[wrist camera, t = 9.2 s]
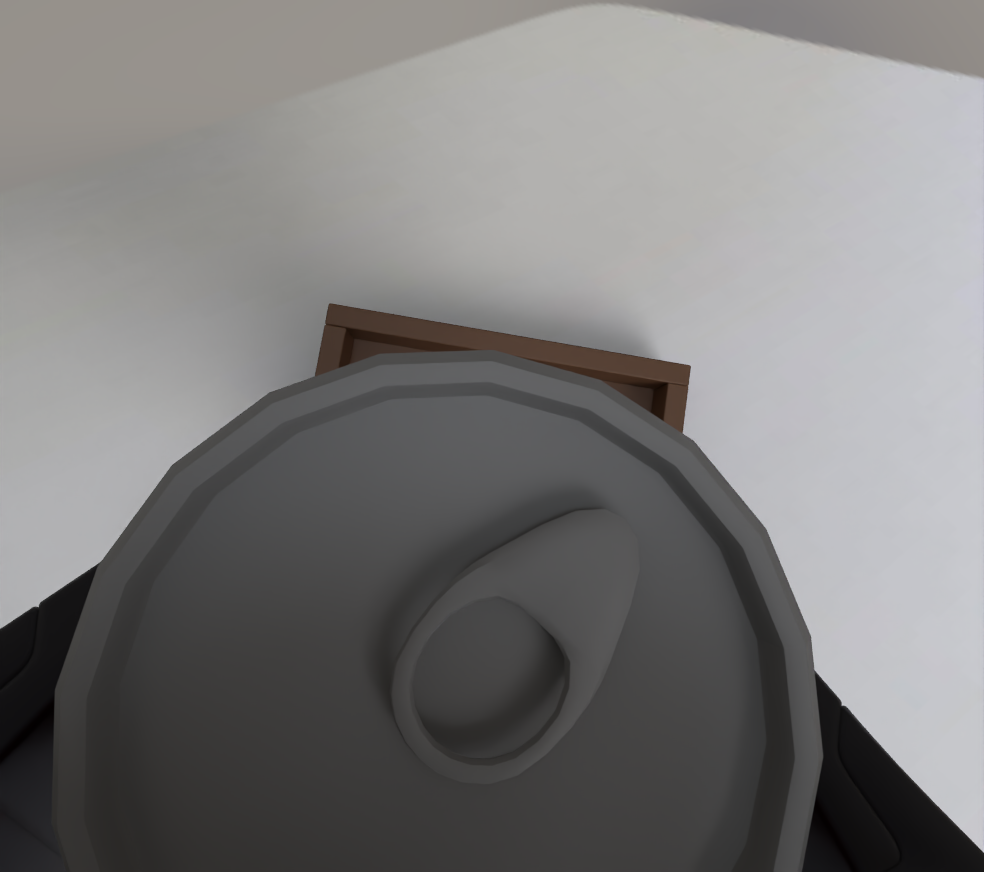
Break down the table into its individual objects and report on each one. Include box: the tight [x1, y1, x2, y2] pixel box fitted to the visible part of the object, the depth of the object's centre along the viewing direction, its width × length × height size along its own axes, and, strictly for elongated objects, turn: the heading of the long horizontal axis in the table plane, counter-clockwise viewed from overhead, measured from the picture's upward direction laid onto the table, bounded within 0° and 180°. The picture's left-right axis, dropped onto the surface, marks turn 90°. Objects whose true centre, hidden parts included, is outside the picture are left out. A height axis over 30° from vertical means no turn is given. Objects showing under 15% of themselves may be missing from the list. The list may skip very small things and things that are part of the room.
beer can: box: [51, 350, 823, 872], centre depth 10 cm, size 7×7×12 cm
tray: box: [315, 304, 691, 433], centre depth 20 cm, size 15×14×2 cm
